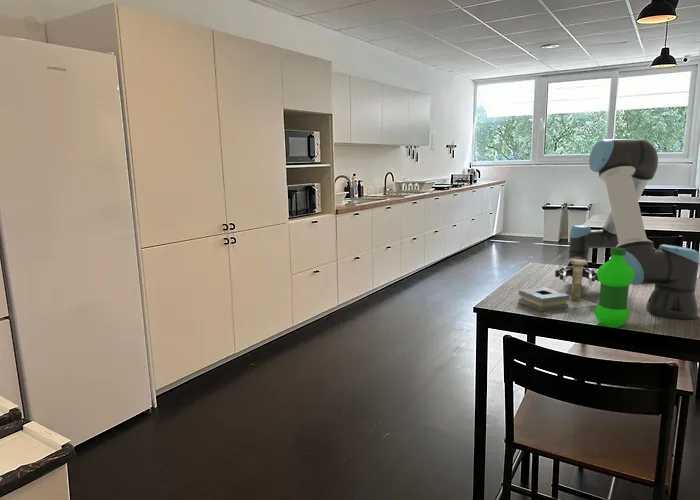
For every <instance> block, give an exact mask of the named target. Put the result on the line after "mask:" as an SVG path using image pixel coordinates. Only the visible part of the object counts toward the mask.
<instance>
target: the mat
mask: <svg viewBox="0 0 700 500" xmlns="http://www.w3.org/2000/svg"><path fill="white" fill-rule="evenodd" d="M568 295H569V300H567V303H568V304H569V307H568V308H571V309H577V308H584V307H591V306H598V305H599V303H596V302H592V301H589V300H586V299H583V298H581V297H580V301H579V302H574V301H571V294H568Z"/></svg>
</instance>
